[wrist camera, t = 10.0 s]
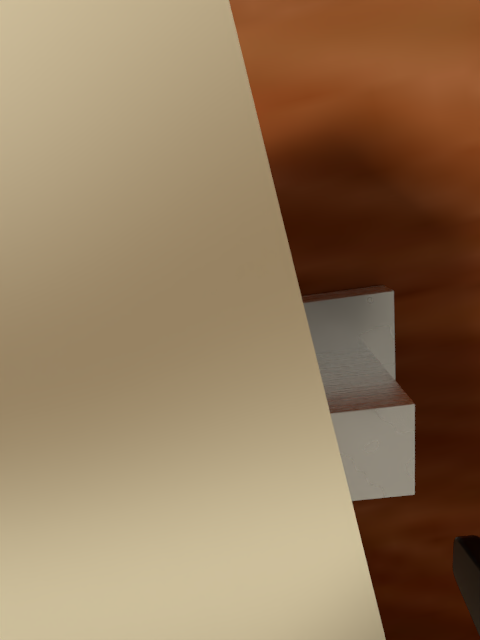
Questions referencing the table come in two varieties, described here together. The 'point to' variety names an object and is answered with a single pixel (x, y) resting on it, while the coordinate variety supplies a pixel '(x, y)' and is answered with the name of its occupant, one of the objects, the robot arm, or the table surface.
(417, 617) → the table surface
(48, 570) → the maple beam
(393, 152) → the table surface
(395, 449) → the ridge
